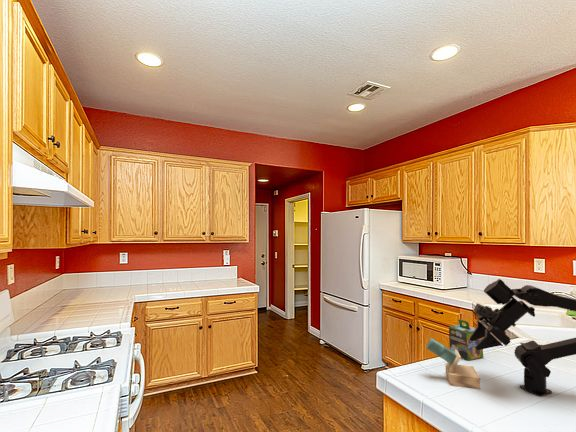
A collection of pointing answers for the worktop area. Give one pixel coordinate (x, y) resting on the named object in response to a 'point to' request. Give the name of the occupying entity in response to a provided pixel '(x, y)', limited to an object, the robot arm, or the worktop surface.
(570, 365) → the worktop surface
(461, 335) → the chalk box
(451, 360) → the tall teal pillar
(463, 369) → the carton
